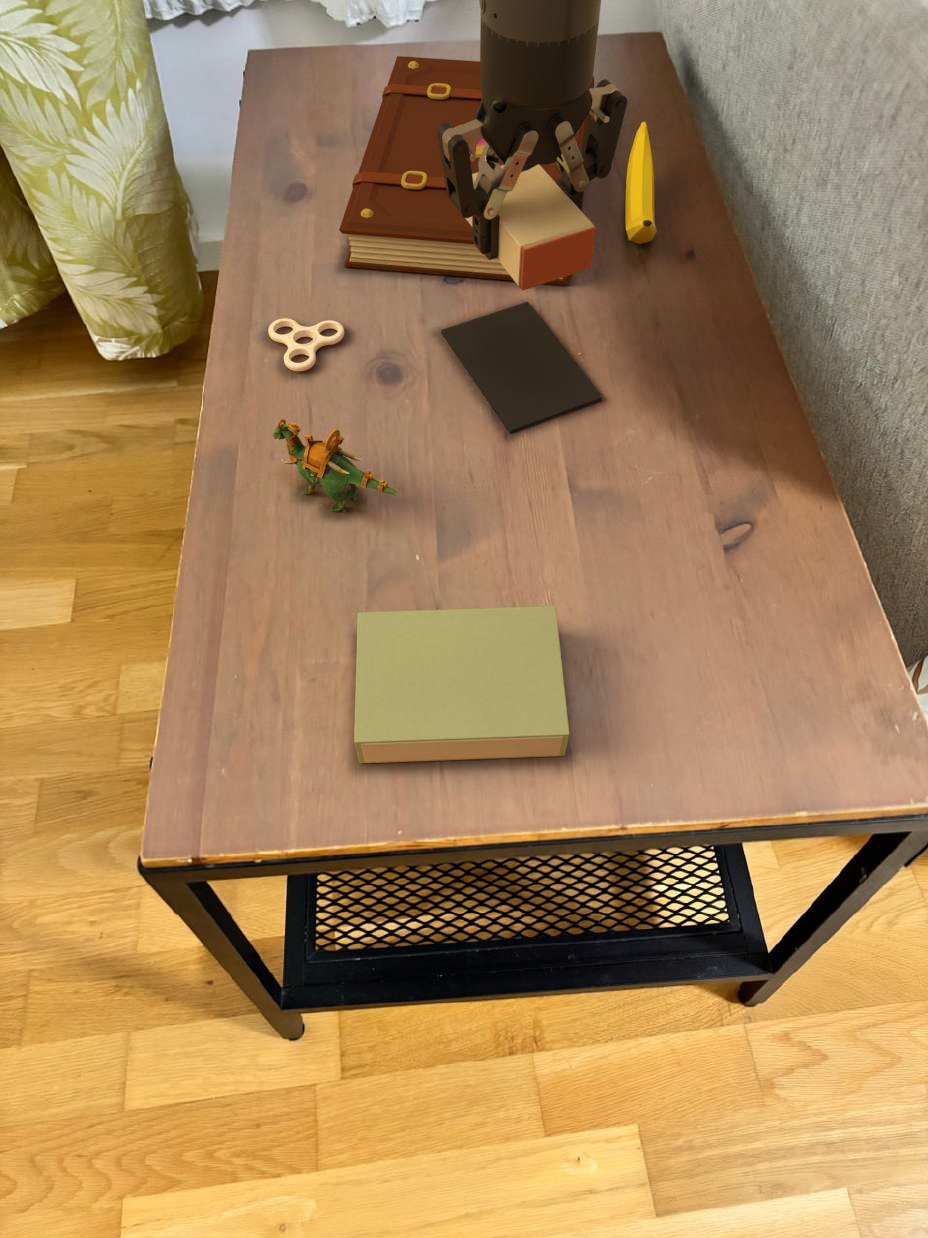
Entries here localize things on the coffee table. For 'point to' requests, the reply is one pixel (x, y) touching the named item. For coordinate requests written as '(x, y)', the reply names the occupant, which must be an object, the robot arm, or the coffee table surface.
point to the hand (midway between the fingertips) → (526, 240)
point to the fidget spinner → (304, 331)
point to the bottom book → (459, 685)
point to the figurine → (327, 465)
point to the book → (420, 176)
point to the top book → (542, 231)
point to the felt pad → (520, 367)
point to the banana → (640, 190)
